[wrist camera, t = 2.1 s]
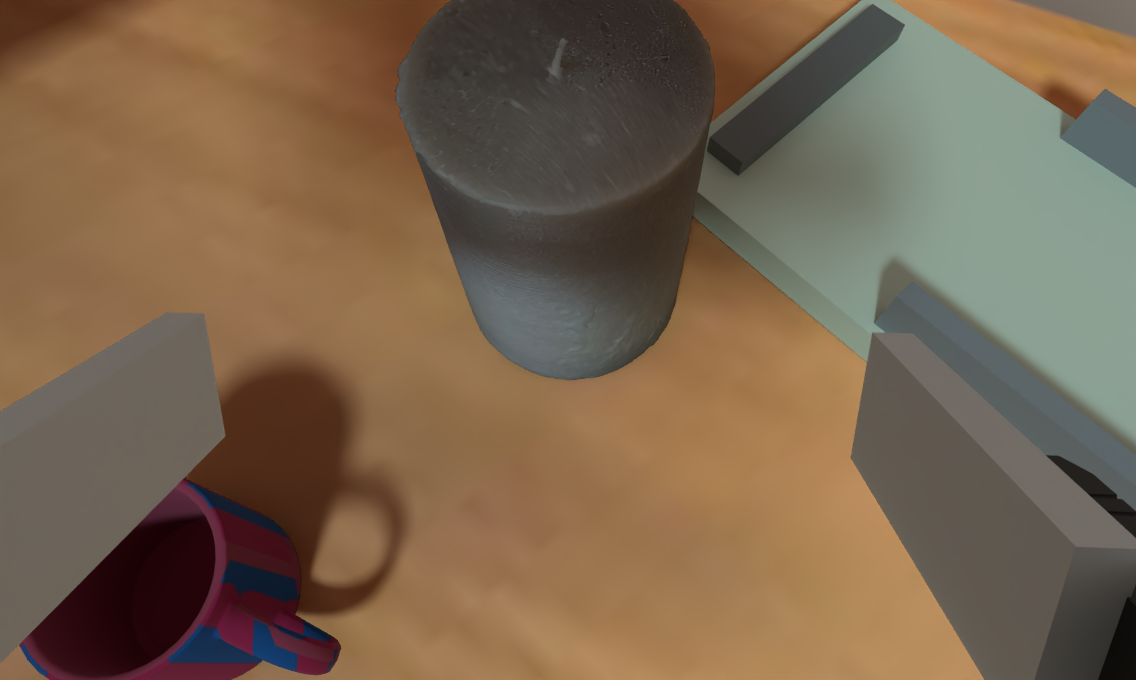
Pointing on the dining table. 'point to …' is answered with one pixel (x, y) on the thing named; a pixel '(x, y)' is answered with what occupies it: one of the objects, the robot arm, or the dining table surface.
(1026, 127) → the deck plate
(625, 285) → the pillar candle
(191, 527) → the mug
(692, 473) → the dining table surface
